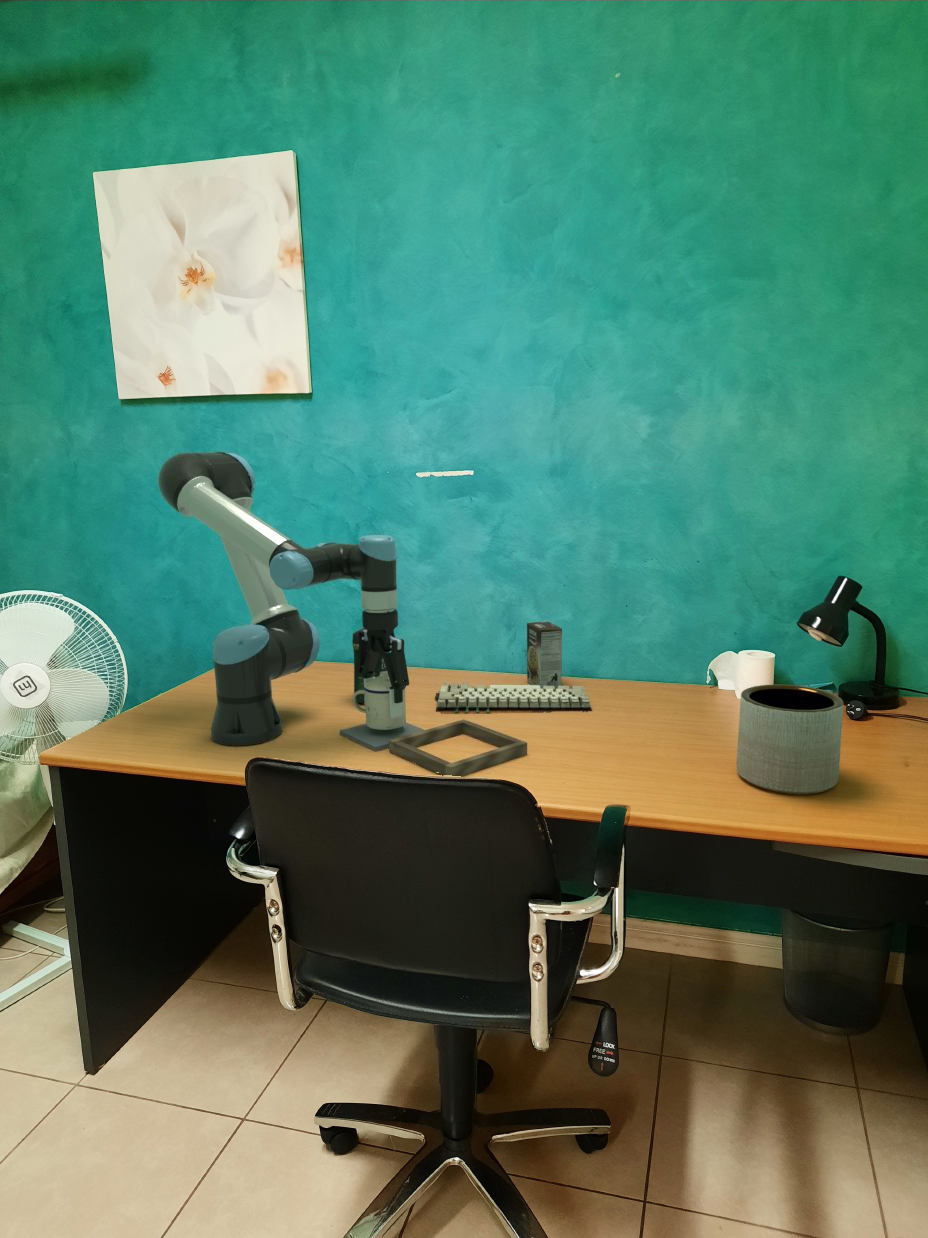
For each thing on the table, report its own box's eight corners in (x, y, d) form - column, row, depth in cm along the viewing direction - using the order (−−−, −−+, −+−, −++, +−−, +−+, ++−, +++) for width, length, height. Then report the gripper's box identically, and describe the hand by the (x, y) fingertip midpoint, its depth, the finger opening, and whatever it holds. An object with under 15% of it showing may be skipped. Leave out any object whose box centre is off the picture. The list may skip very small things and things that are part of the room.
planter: (723, 784, 154) (727, 702, 151) (750, 754, 168) (754, 679, 165) (827, 805, 144) (833, 718, 141) (846, 772, 158) (852, 692, 155)
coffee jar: (380, 706, 203) (377, 631, 200) (350, 704, 205) (346, 630, 202) (394, 695, 212) (392, 623, 209) (365, 693, 214) (362, 622, 211)
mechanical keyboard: (584, 692, 215) (584, 679, 214) (594, 715, 196) (594, 701, 195) (436, 694, 216) (436, 681, 215) (432, 718, 197) (432, 704, 196)
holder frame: (450, 779, 158) (450, 767, 157) (389, 751, 173) (388, 740, 172) (527, 754, 170) (527, 742, 170) (464, 730, 185) (463, 719, 185)
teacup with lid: (412, 718, 186) (410, 667, 183) (399, 732, 177) (397, 678, 175) (361, 715, 189) (359, 665, 186) (346, 728, 180) (343, 676, 178)
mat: (375, 751, 173) (375, 747, 173) (339, 734, 183) (339, 730, 183) (429, 736, 182) (429, 731, 182) (392, 721, 192) (392, 716, 192)
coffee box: (525, 682, 222) (525, 622, 219) (548, 680, 224) (548, 620, 221) (539, 691, 214) (539, 629, 210) (562, 689, 215) (563, 627, 212)
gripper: (425, 614, 171) (427, 719, 176) (366, 600, 188) (369, 697, 192) (395, 619, 166) (398, 727, 171) (337, 604, 183) (341, 704, 187)
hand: (383, 711), depth 182 cm, fingers closed on teacup with lid, 9 cm apart
